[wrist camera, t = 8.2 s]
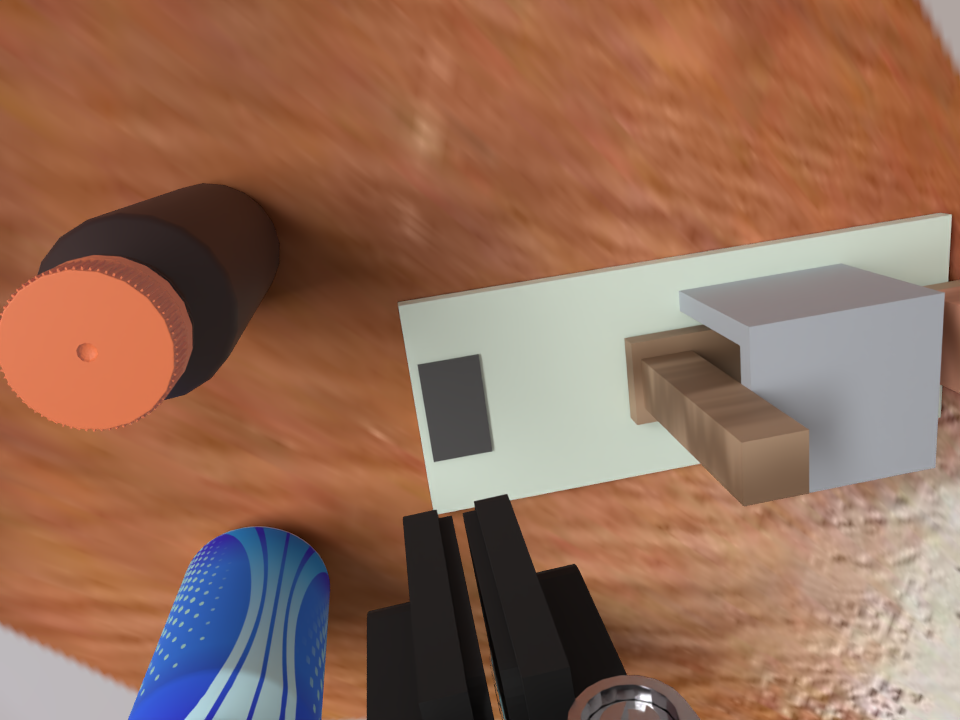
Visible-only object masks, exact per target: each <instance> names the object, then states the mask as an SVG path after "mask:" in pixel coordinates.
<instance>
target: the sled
mask: <svg viewBox="0 0 960 720" xmlns="http://www.w3.org/2000/svg"><path fill="white" fill-rule="evenodd" d="M923 287H926V288H930V289H933V290H937V291H940V292H944V293H945V298H944V316H943V335H942V353H941V372H940V385H942V386H944V387H946V388H949V389H951V390H953V391H955V392H958V393H960V280H955V281H950V282H944V283H938V284H932V285H927V286H923ZM624 341H625V354H626V366H627V379H628V392H629V404H630V417H631V419H632V420H633V421H634V422H635V423H636V424H637V425H641V424H647V423H652V422H657V421H658V422H659V423H660V424H661V425H662V426H663V427H664V428H665V429H666V430H667V431H668V432H669V433H670V434H671V435H672V436H673V437H674V438H675V439H676V440H677V441H678V442H679V443H680V444H681V445H682V446H683V447H684V448H685V449H686V450H687V451H688V452H689V453H690V454H691V455H692V456H693V457H694V458H696V459H697V460H698V461H699V462H700V463H701V464H702V465H703V466H704V467H705V468H706V469H707V470H708V471H709V472H710V473H711V474H712V475H713V476H714V477H715V478H716V479H717V480H718V481H719V482H720V483H721V484H722V485H723V486H724V487H725V488H726V489H727V490H728V491H729V492H730V493H731V494H732V495H733V496H734V497H735V498H736V499H737V500H738V501H739V502H740V503H741V504H742V505H743V506H748V505H753V504H758V503H763V502H768V501H773V500H778V499H783V498H788V497H793V496H798V495H803V494H808V493H809V429H807V428H806V427H804V426H803V425H801V424H800V423H798V422H797V421H796V420H794V419H793V418H791V417H790V416H788V415H787V414H785V413H784V412H782V411H781V410H779V409H778V408H776V407H775V406H773V405H772V404H770V403H769V402H767V401H766V400H764V399H763V398H761V397H760V396H759V395H757V394H756V393H754V392H753V391H751V390H750V389H748V388H747V387H745V386H744V385H742V384H741V358H740V345H738V344H736V343H735V342H733V341H731V340H729V339H728V338H726V337H724V336H723V335H721V334H719V333H717V332H716V331H714V330H712V329H710V328H709V327H707V326H705V325H697V326H692V327H686V328H680V329H674V330H669V331H663V332H657V333H652V334H646V335H640V336H634V337H629V338H624Z"/></svg>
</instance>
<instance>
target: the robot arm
mask: <svg viewBox="0 0 960 720" xmlns="http://www.w3.org/2000/svg"><path fill="white" fill-rule="evenodd" d="M474 506H475V510H474V511H470V512H465V513H463V518H464V523H465V528H466V533H467V538H468V543H469V548H470V553H471V558H472V563H473V568H474V572H475V577H476V582H477V587H478V592H479V597H480V602H481V607H482V612H483V617H484V622H485V627H486V632H487V637H488V642H489V647H490V652H491V656H492V661H493V666H494V670H495V675H496V679H497V684H498V688H499V693H500V697H501V702H502V706H503V711H504V715H505V719H506V720H700V718H699V717H698V716H697V714H696V713H695V712H694V711H693V709H692V708H691V707H690V705H689V704H688V703H687V702H686V700H685V699H684V698H683V697H682V696H681V695H680V694H679V693H678V692H676V691H675V690H674V689H673V688H672V687H670V686H668V685H666V684H664V683H662V682H660V681H658V680H656V679H652V678H648V677H643V676H639V675H627V674H626V672H625V670H624V667H623V665H622V663H621V661H620V659H619V656H618V654H617V652H616V650H615V648H614V646H613V643H612V641H611V639H610V637H609V635H608V632H607V630H606V628H605V626H604V624H603V621H602V619H601V617H600V615H599V613H598V610H597V608H596V606H595V604H594V602H593V599H592V597H591V595H590V593H589V591H588V589H587V586H586V584H585V582H584V580H583V578H582V575H581V573H580V571H579V569H578V567H577V566H576V565H575V564H572V565H568V566H563V567H559V568H555V569H550V570H546V571H542V572H537V573H536V571H535V569H534V566H533V563H532V560H531V558H530V555H529V552H528V549H527V547H526V544H525V541H524V538H523V536H522V533H521V530H520V527H519V524H518V522H517V519H516V516H515V513H514V511H513V508H512V505H511V502H510V500H509V497H508V494H504V495H500V496H495V497H491V498H486V499H482V500H477V501H474ZM403 526H404V538H405V549H406V561H407V573H408V585H409V596H410V602H407V603H403V604H398V605H394V606H390V607H385V608H381V609H377V610H372V611H369V612H368V614H367V720H494V717H493V712H492V707H491V702H490V697H489V692H488V688H487V683H486V678H485V673H484V668H483V663H482V659H481V654H480V649H479V644H478V639H477V635H476V630H475V625H474V620H473V615H472V610H471V606H470V601H469V596H468V591H467V586H466V582H465V577H464V572H463V567H462V562H461V558H460V553H459V548H458V543H457V538H456V534H455V529H454V524H453V519H452V516H447V517H443V518H439V517H438V513H437V510H432V511H428V512H423V513H418V514H414V515H409V516H405V517H403Z"/></svg>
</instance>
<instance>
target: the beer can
mask: <svg viewBox="0 0 960 720" xmlns="http://www.w3.org/2000/svg"><path fill="white" fill-rule="evenodd" d="M329 598H330V581H329V576H328V572H327V569H326V566H325V564H324V562H323V560H322V559H321V557H320V556H319V554H318V553H317V552H316V551H315V550H314V549H313V548H312V547H311V546H310V545H309V544H308V543H307V542H306V541H304V540H303V539H301V538H299V537H298V536H296V535H294V534H292V533H289V532H287V531H284V530H281V529H277V528H271V527H262V526H254V527H244V528H239V529H235V530H232V531H229V532H226V533H224V534H222V535H220V536H218V537H216V538H214V539H213V540H211V541H210V542H209V543H207V544H206V545H205V546H204V547H203V548H202V549H201V550H200V551H199V552H198V553H197V554H196V555H195V557H194V558H193V560H192V561H191V563H190V565H189V567H188V569H187V571H186V574H185V576H184V579H183V582H182V584H181V587H180V589H179V592H178V594H177V597H176V599H175V602H174V604H173V607H172V609H171V612H170V614H169V617H168V620H167V622H166V625H165V627H164V630H163V632H162V635H161V637H160V640H159V642H158V645H157V647H156V650H155V652H154V655H153V657H152V660H151V663H150V665H149V668H148V670H147V673H146V675H145V678H144V680H143V683H142V685H141V688H140V690H139V693H138V695H137V698H136V701H135V703H134V706H133V708H132V711H131V714H130V716H129V718H128V720H321V716H322V702H323V687H324V672H325V657H326V643H327V628H328V613H329Z"/></svg>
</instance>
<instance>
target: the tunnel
mask: <svg viewBox="0 0 960 720" xmlns="http://www.w3.org/2000/svg"><path fill="white" fill-rule="evenodd" d="M944 298H945V293H944V292H940V291H937V290H933V289H930V288H926V287H923V286H919V285H916V284H912V283H908V282H905V281H901V280H898V279H894V278H891V277H887V276H884V275H880V274H877V273H873V272H870V271H866V270H863V269H859V268H855V267H852V266H848V265H845V264H841V263H840V264H834V265H828V266H822V267H816V268H811V269H805V270H799V271H793V272H787V273H781V274H775V275H769V276H763V277H757V278H751V279H746V280H740V281H734V282H728V283H722V284H716V285H710V286H704V287H698V288H692V289H686V290H681V291H679V305H680V311H681V312H683V313H684V314H686V315H688V316H690V317H691V318H693V319H695V320H697V321H698V322H700V323H702V324H703V325H705V326H707V327H709V328H710V329H712V330H714V331H716V332H717V333H719V334H721V335H723V336H724V337H726V338H728V339H729V340H731V341H733V342H735V343H736V344H738V345H740V358H741V384H742V385H744V386H745V387H747V388H748V389H750V390H751V391H753V392H754V393H756V394H757V395H759V396H760V397H761V398H763V399H764V400H766V401H767V402H769V403H770V404H772V405H773V406H775V407H776V408H778V409H779V410H781V411H782V412H784V413H785V414H787V415H788V416H790V417H791V418H793V419H794V420H796V421H797V422H798V423H800V424H801V425H803V426H804V427H806V428H807V429H809V493H811V492H816V491H821V490H826V489H831V488H836V487H841V486H846V485H851V484H856V483H861V482H866V481H871V480H876V479H881V478H886V477H891V476H896V475H901V474H906V473H911V472H916V471H921V470H926V469H931V468H935V464H936V445H937V427H938V408H939V390H940V372H941V353H942V335H943V316H944Z"/></svg>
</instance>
